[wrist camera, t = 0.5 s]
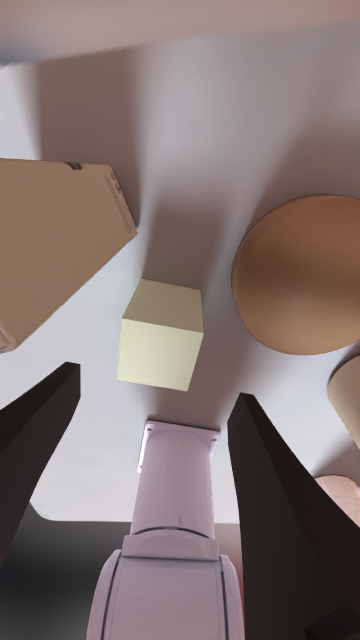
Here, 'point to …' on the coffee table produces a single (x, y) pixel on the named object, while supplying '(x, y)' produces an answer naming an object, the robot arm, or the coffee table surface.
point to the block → (161, 335)
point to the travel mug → (347, 396)
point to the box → (53, 237)
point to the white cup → (343, 494)
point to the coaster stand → (302, 276)
